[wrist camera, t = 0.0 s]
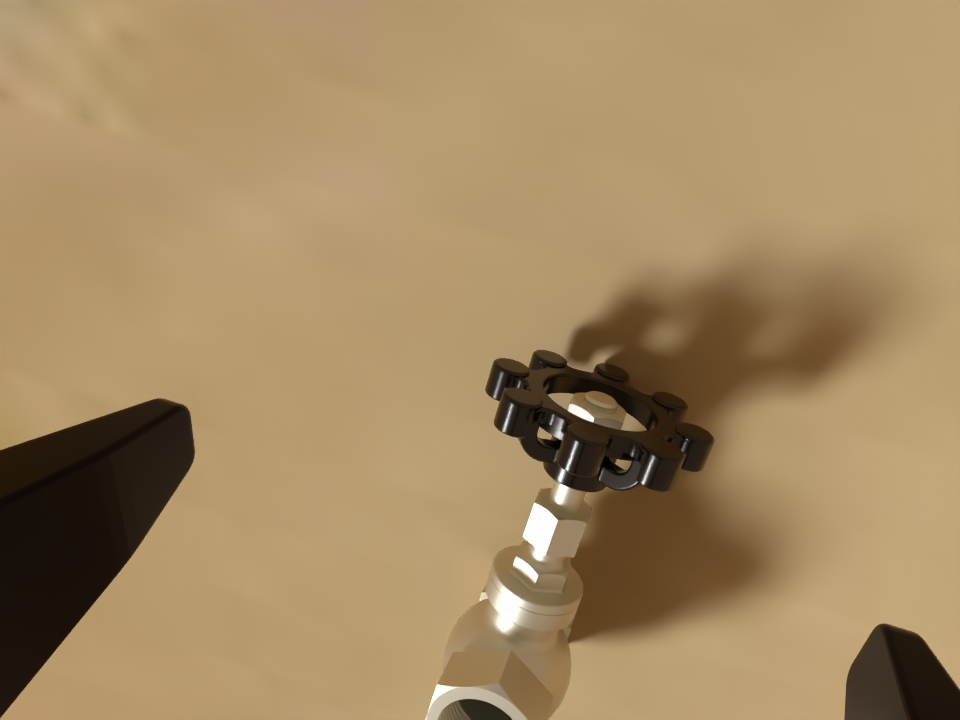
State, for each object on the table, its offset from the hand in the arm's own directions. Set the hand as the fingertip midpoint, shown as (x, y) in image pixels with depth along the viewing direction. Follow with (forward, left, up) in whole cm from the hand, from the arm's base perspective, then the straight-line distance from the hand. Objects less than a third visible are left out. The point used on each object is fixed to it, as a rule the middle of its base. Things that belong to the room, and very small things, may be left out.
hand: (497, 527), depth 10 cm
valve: (-6, -5, -16) cm, 18 cm away
